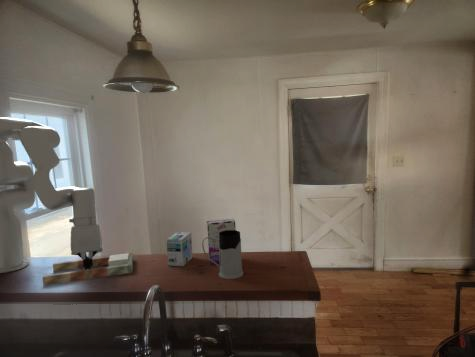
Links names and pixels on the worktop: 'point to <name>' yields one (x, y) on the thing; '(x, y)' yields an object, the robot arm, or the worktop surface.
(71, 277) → the trap lane
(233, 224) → the candy bar box
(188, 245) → the light bulb box
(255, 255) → the worktop surface
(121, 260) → the cream block
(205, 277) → the worktop surface
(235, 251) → the white pitcher
